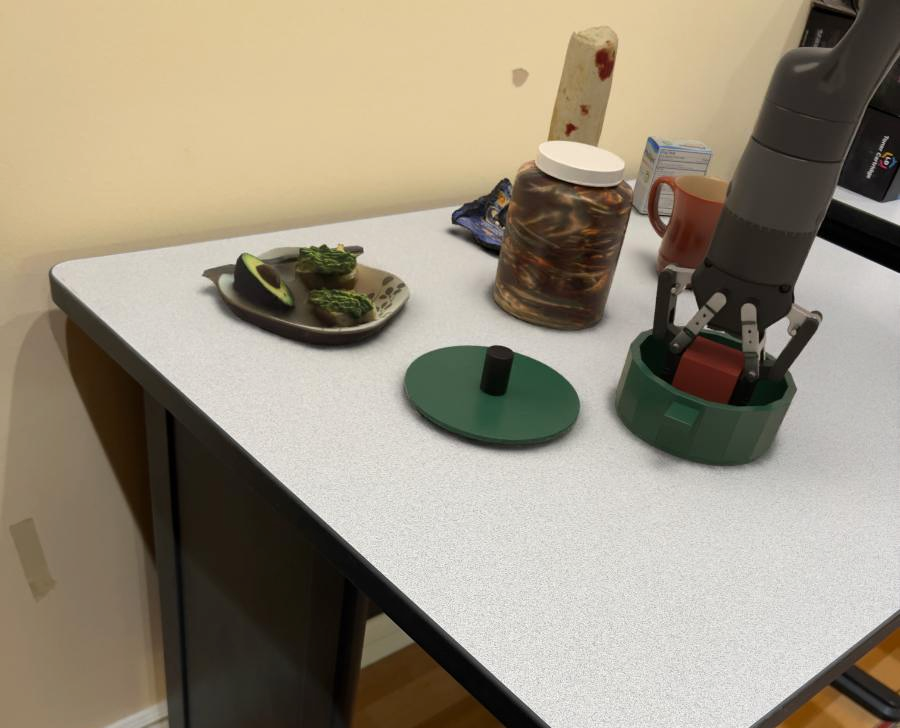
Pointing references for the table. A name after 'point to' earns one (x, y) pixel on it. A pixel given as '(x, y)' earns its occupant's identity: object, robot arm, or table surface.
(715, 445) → the pot
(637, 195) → the medicine box
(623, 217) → the jar
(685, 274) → the robot arm
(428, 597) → the table surface
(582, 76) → the food model
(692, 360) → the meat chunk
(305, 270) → the plate of avocado toast
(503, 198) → the snack package
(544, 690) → the table surface
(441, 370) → the pot lid
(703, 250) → the mug
